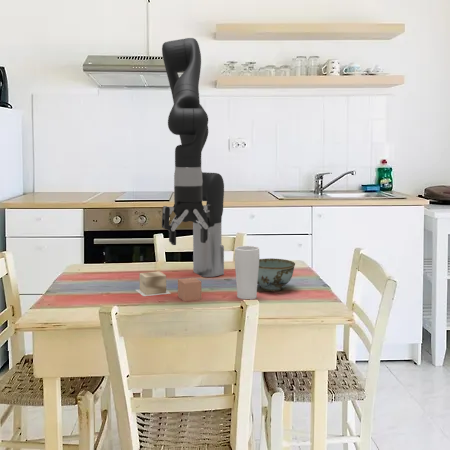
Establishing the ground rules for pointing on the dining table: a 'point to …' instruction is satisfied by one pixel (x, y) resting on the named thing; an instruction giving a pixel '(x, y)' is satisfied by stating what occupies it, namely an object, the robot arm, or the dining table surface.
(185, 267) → the dining table surface
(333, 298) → the dining table surface
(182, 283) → the rust block
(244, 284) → the drinking glass
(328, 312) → the dining table surface
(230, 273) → the dining table surface
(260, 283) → the bowl
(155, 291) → the beech block
